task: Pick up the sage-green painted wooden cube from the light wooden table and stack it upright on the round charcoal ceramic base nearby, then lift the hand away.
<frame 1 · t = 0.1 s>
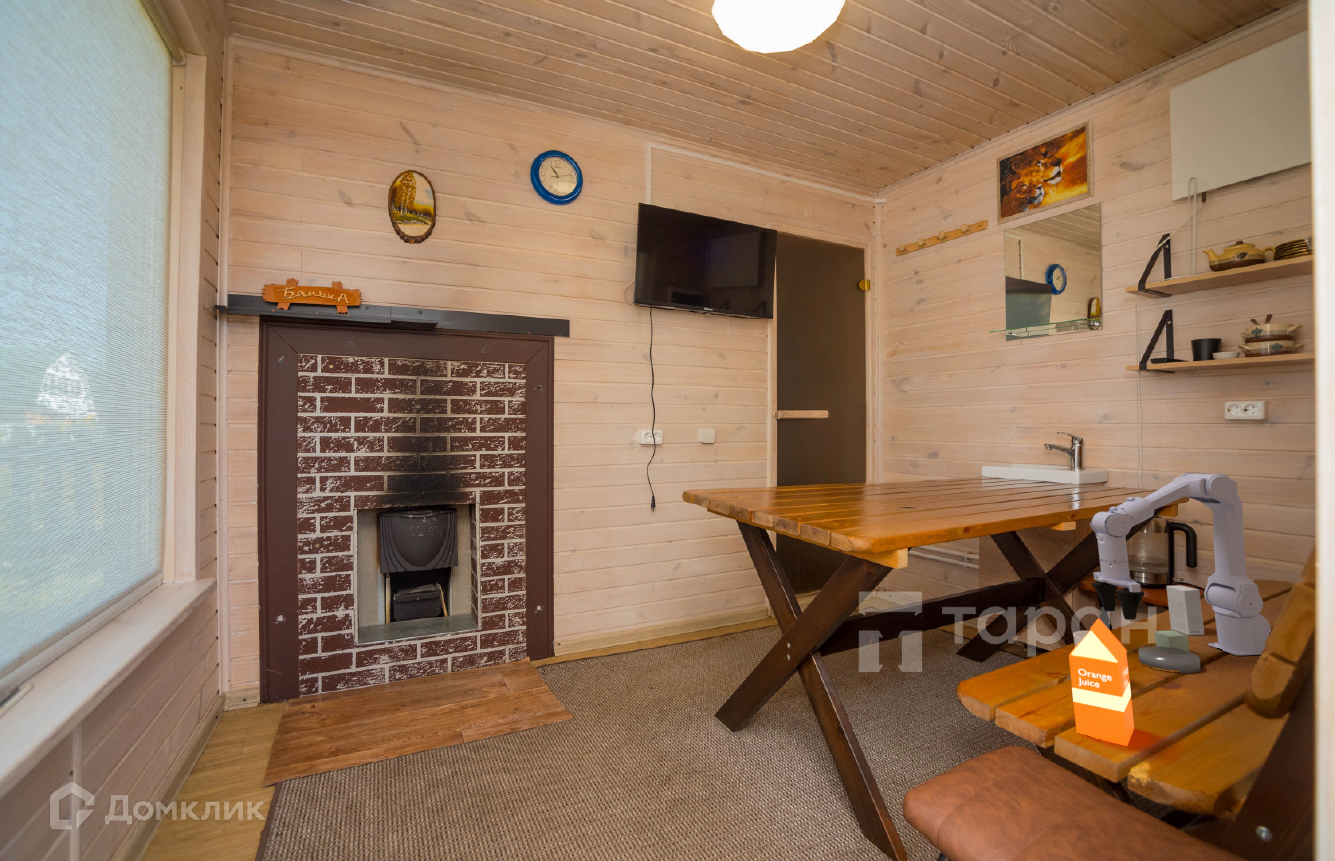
hand: (1119, 615, 145), 10 cm above the table, tool pointing down, fingers open, 7 cm apart
white cup: (1098, 681, 131), on the table
green cube: (1172, 651, 145), on the table
charcoal base: (1169, 664, 137), on the table
skincare box: (1187, 632, 158), on the table
orange juice: (1105, 732, 109), on the table
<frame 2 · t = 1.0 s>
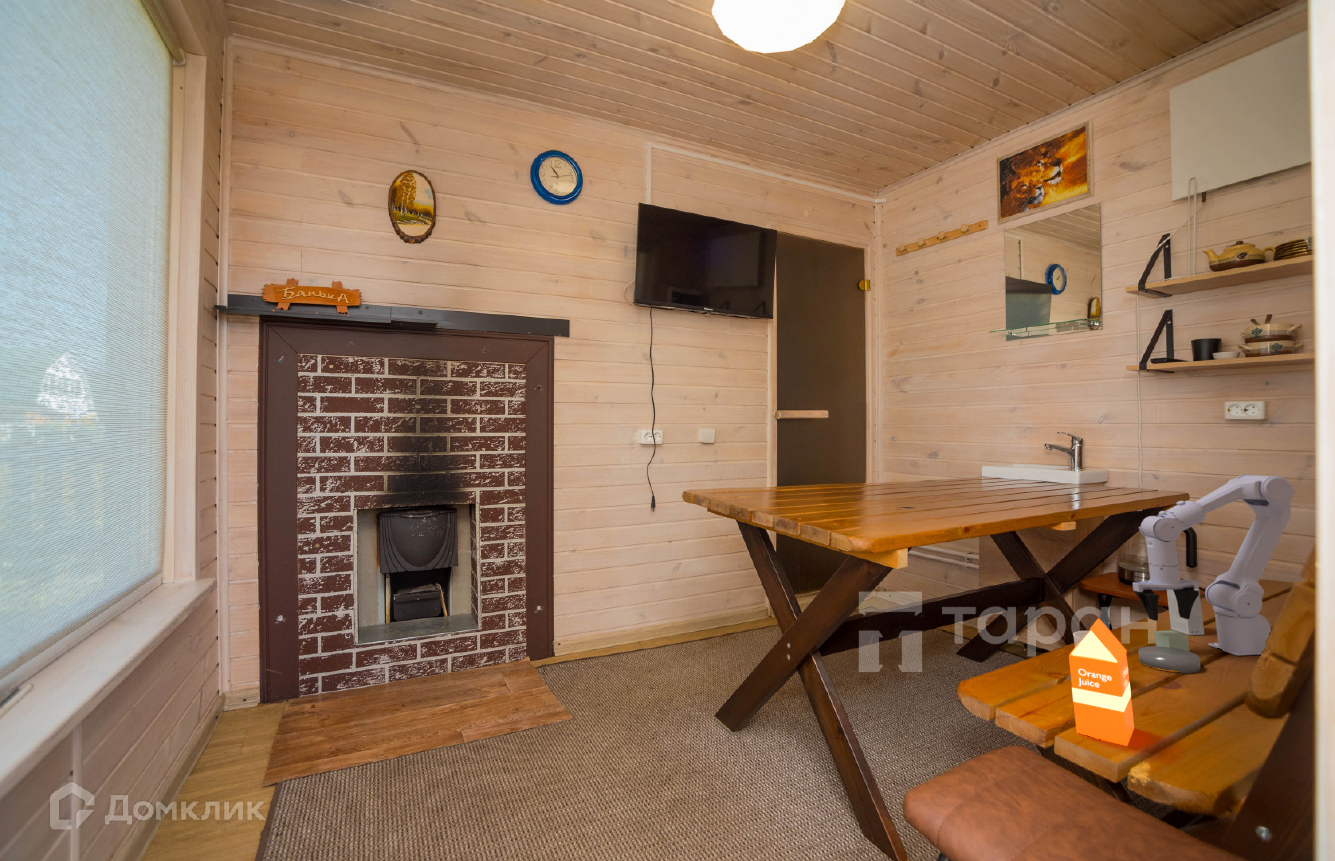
hand: (1168, 618, 146), 8 cm above the table, tool pointing down, fingers open, 7 cm apart
nothing on the table moved.
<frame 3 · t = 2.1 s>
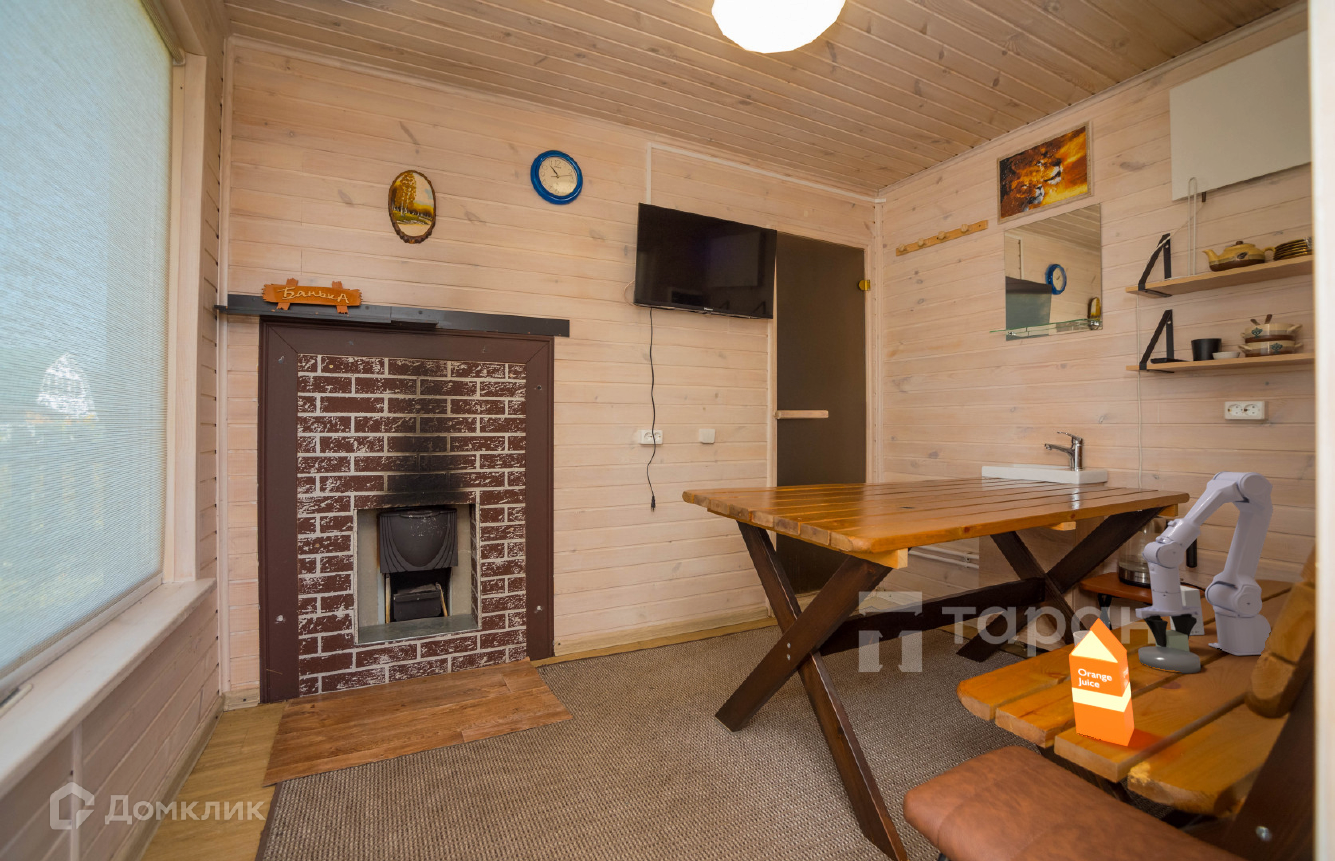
hand: (1172, 645, 145), 1 cm above the table, tool pointing down, fingers closed on green cube, 4 cm apart
green cube: (1172, 651, 145), on the table, touching gripper
everything else where it was.
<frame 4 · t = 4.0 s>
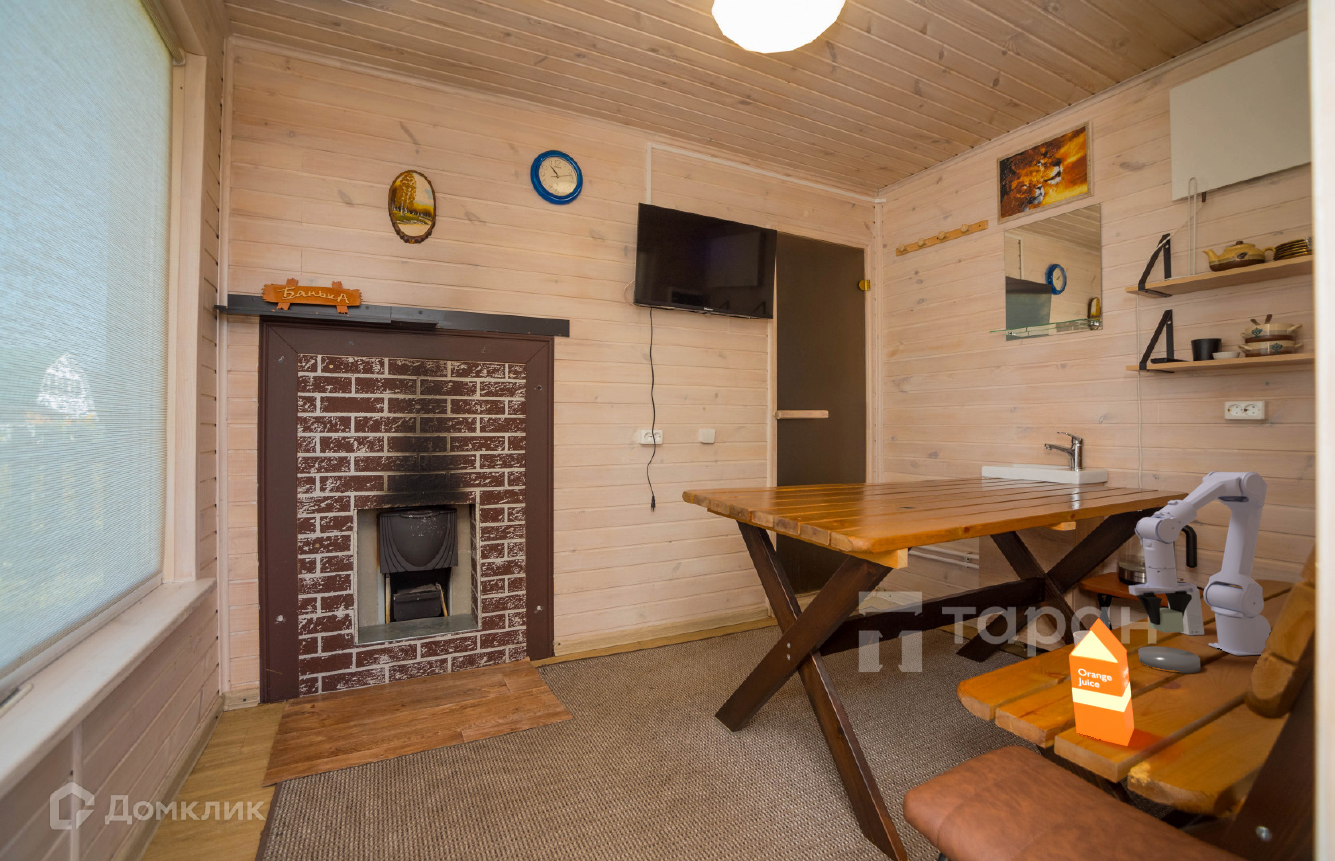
hand: (1166, 623, 141), 8 cm above the table, tool pointing down, fingers closed on green cube, 4 cm apart
green cube: (1166, 629, 141), point 7 cm above the table, touching gripper
everything else where it was.
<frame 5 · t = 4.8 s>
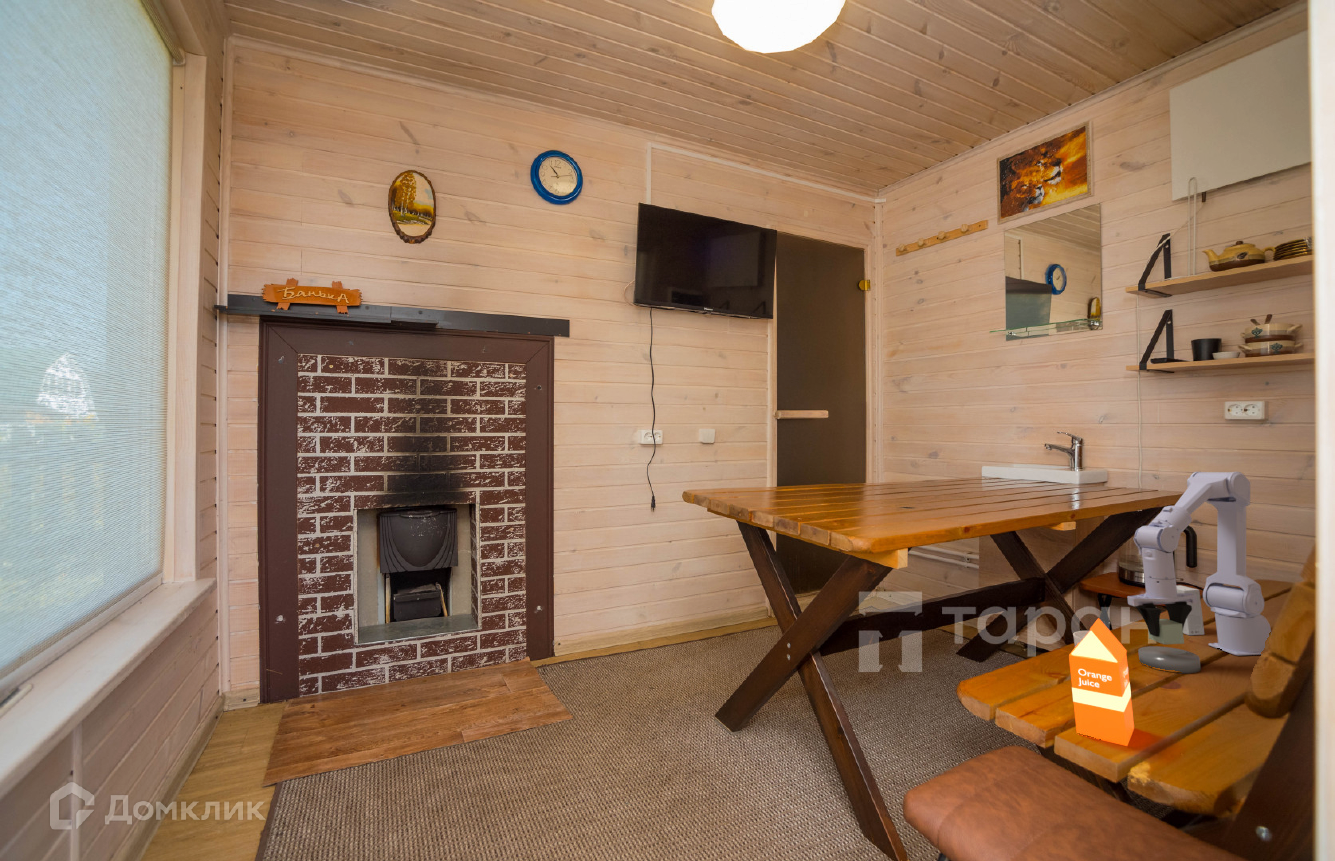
hand: (1165, 634, 137), 7 cm above the table, tool pointing down, fingers closed on green cube, 4 cm apart
green cube: (1166, 641, 137), point 6 cm above the table, touching gripper
everything else where it was.
when the fingers open (5 cm above the table, at t = 5.7 s): green cube stays where it is, resting on charcoal base.
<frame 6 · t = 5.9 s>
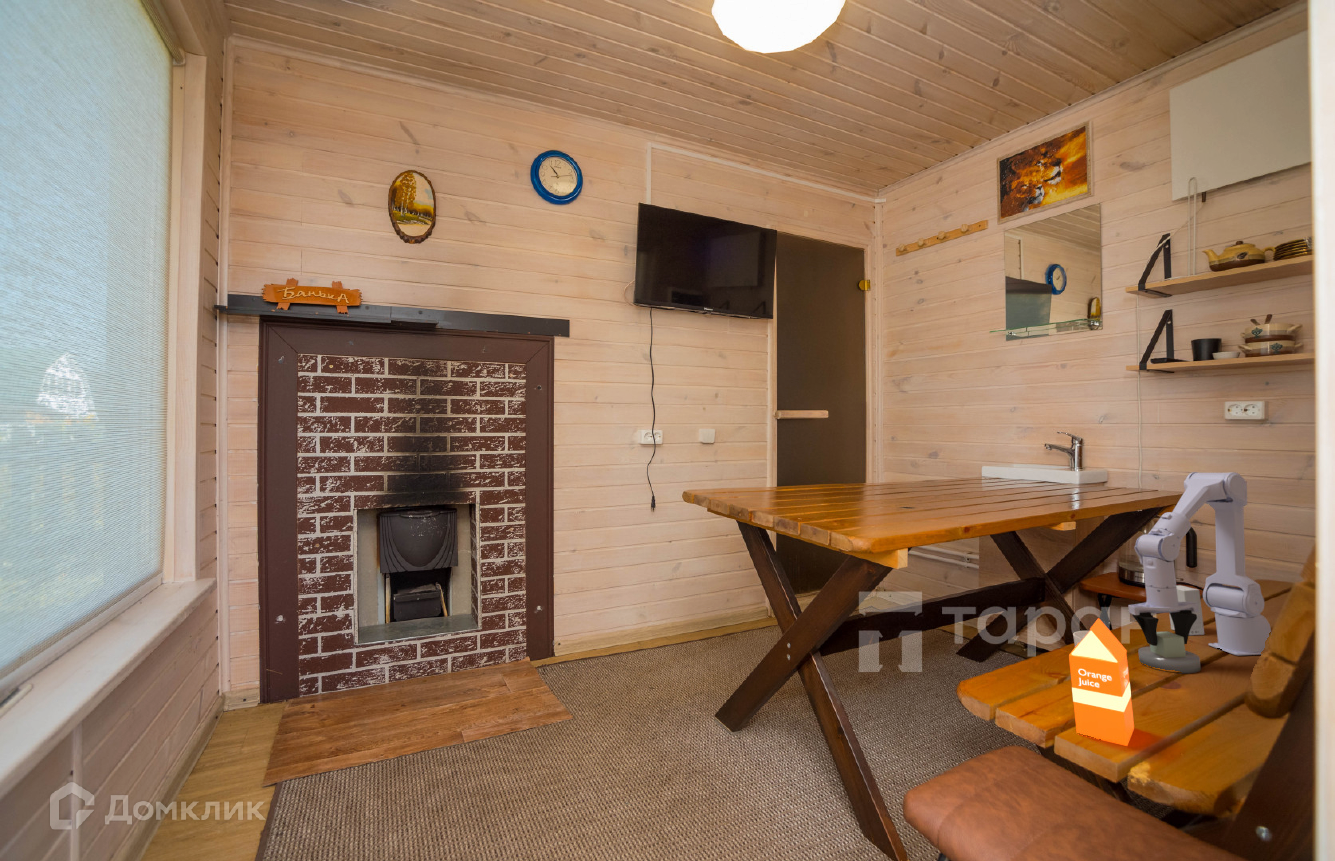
hand: (1166, 643, 137), 5 cm above the table, tool pointing down, fingers open, 6 cm apart
green cube: (1167, 653, 137), point 2 cm above the table, touching charcoal base
everything else where it was.
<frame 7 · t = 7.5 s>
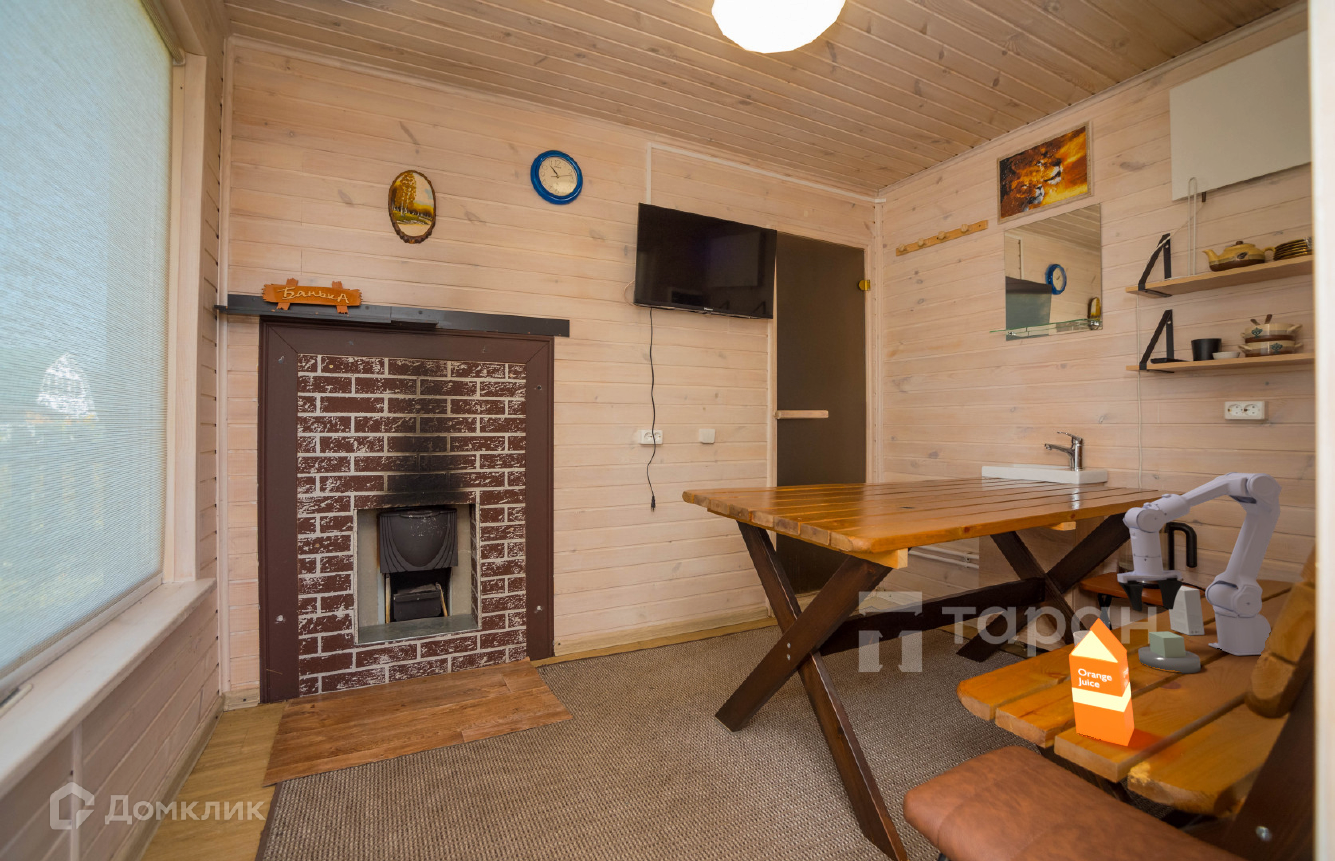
hand: (1153, 609, 146), 10 cm above the table, tool pointing down, fingers open, 7 cm apart
nothing on the table moved.
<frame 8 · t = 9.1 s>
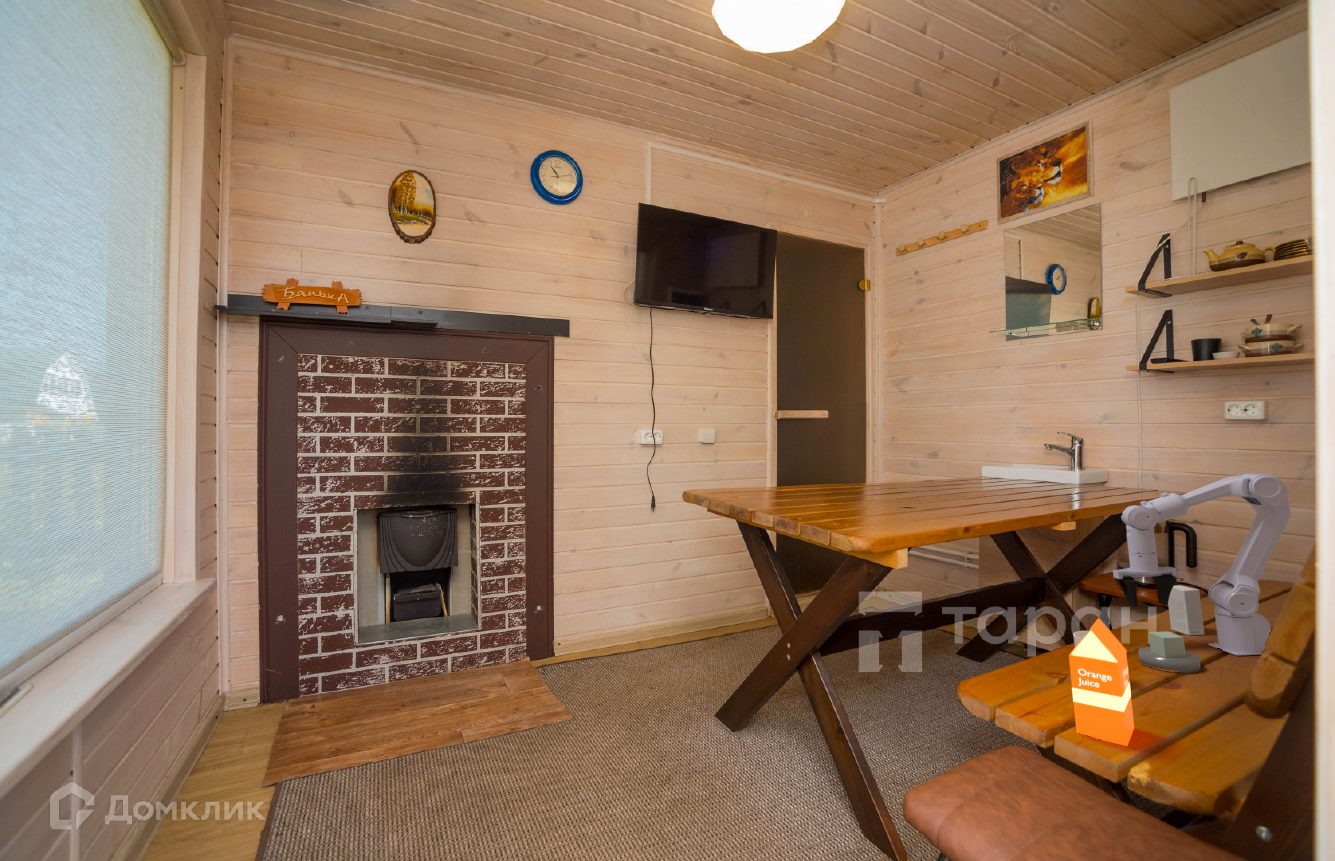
hand: (1148, 605, 150), 10 cm above the table, tool pointing down, fingers open, 7 cm apart
nothing on the table moved.
at the end: green cube 0.1 cm off-centre on the charcoal base, point 2.5 cm above the charcoal base's base; green cube tilted 0°; the gripper is holding nothing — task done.
